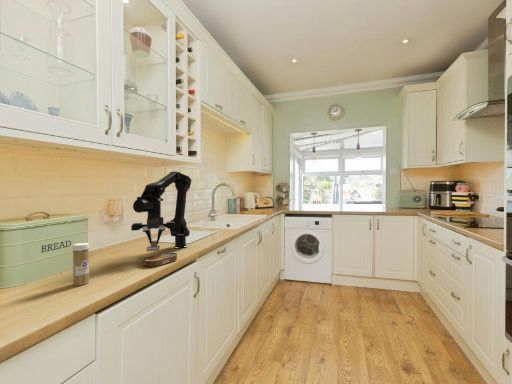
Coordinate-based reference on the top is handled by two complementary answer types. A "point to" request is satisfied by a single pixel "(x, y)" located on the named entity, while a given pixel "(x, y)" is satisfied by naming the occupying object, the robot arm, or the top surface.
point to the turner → (153, 246)
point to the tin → (159, 259)
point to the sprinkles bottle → (80, 264)
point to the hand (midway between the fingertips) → (154, 244)
